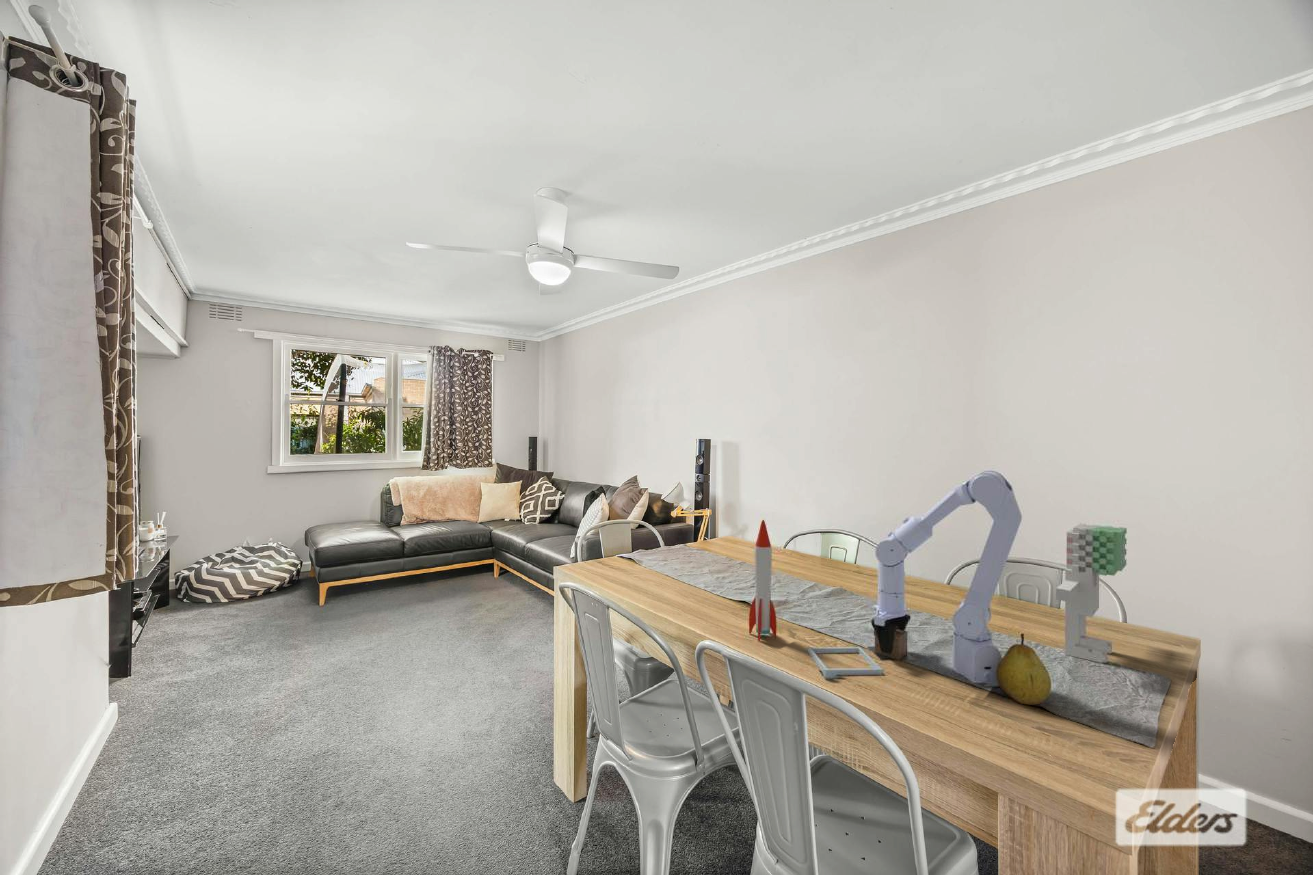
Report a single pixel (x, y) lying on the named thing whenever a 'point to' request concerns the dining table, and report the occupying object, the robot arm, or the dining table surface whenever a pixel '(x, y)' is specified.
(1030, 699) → the fruit
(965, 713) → the dining table surface
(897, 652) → the collar
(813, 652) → the grey rectangular frame
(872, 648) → the post
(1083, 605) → the toy
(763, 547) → the toy rocket
